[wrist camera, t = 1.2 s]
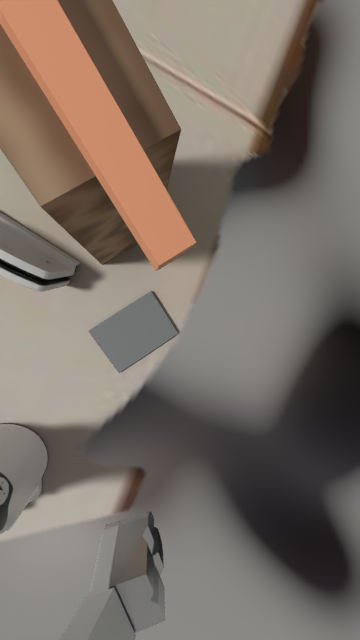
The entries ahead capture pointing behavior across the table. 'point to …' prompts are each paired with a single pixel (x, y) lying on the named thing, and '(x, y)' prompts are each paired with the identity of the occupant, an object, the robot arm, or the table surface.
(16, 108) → the brown block
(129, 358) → the mat
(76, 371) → the table surface
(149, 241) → the pin
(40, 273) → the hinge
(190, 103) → the table surface
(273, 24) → the table surface
